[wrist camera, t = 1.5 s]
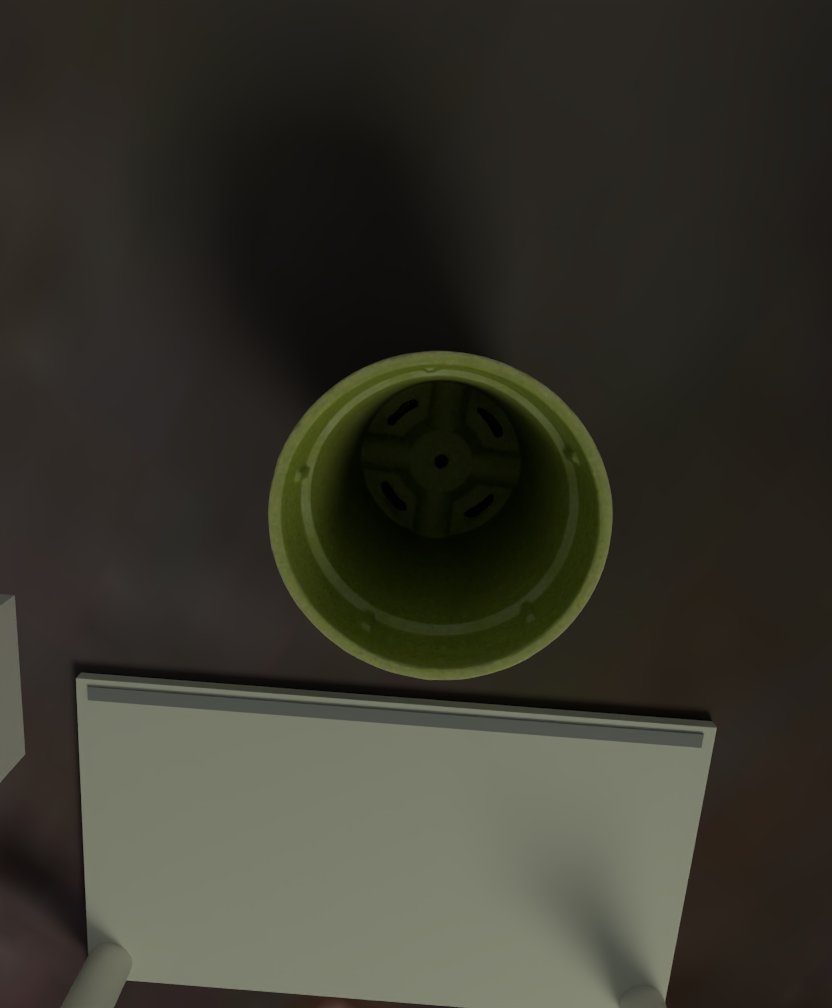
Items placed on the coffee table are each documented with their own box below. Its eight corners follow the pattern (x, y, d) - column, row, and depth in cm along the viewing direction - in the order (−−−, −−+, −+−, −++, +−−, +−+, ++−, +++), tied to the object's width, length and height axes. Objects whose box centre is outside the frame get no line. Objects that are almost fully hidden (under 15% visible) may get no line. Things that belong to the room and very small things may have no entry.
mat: (712, 721, 33) (836, 915, 22) (657, 1013, 36) (742, 1291, 26) (81, 672, 33) (-79, 843, 23) (93, 968, 37) (-39, 1226, 27)
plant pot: (425, 622, 32) (421, 740, 23) (264, 445, 30) (197, 505, 22) (614, 475, 30) (682, 546, 22) (454, 278, 28) (460, 273, 20)
